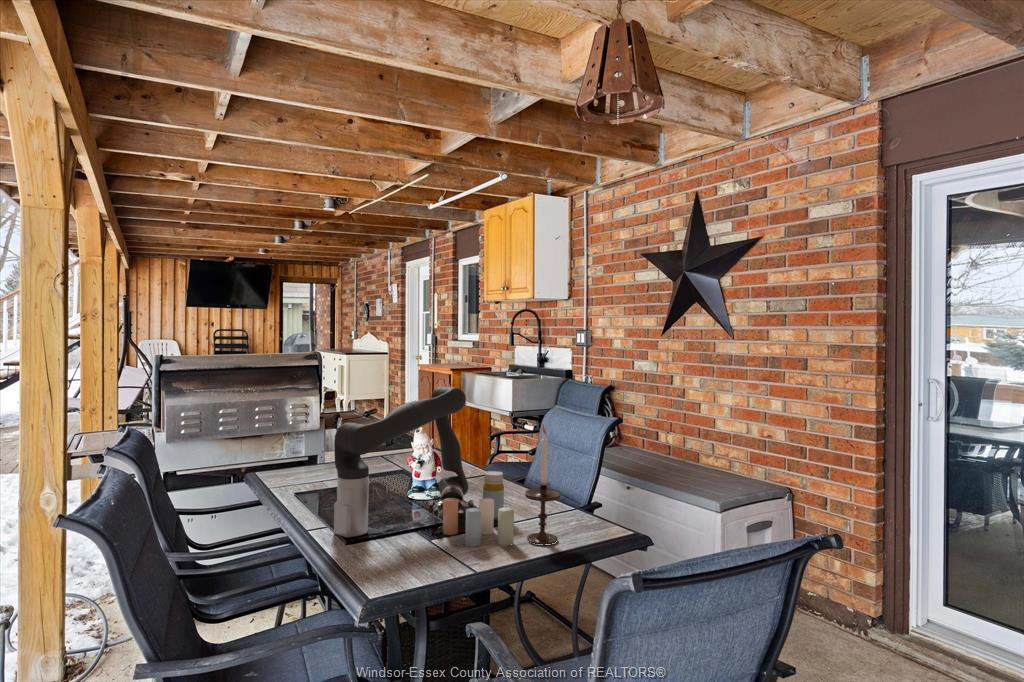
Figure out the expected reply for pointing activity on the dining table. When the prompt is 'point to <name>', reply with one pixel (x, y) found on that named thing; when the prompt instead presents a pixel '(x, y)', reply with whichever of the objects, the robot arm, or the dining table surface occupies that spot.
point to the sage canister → (505, 526)
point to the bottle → (494, 489)
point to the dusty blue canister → (473, 527)
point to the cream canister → (487, 515)
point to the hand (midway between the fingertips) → (450, 513)
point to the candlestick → (543, 498)
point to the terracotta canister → (450, 516)
